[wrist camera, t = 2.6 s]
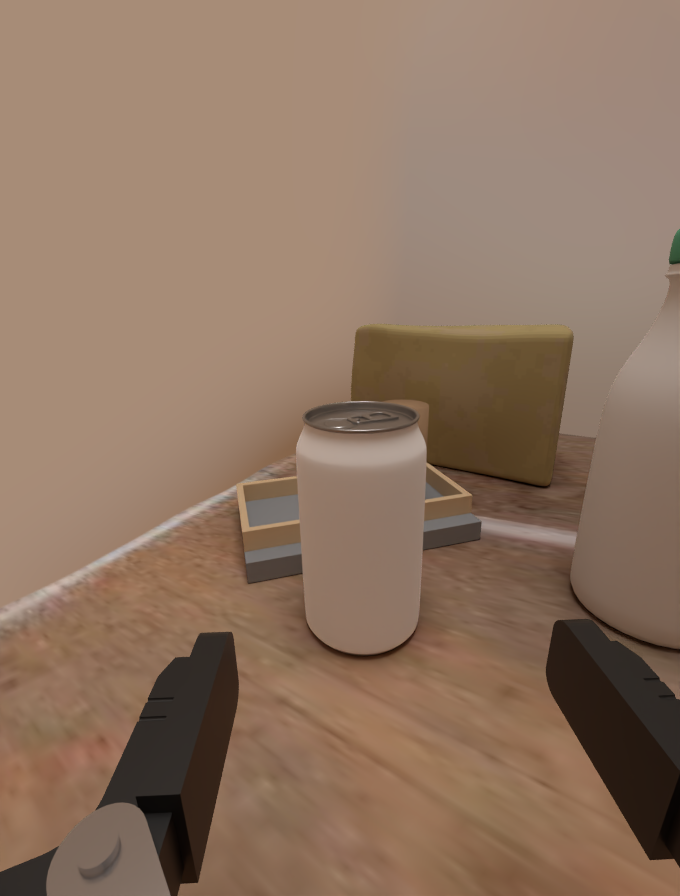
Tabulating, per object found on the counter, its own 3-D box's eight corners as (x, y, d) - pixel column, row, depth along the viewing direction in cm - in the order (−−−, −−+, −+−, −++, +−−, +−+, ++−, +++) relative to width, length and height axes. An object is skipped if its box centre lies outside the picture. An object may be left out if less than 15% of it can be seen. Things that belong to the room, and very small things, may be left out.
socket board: (415, 482, 41) (419, 388, 38) (479, 539, 31) (491, 417, 28) (239, 508, 37) (227, 404, 34) (248, 583, 27) (232, 445, 24)
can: (289, 601, 25) (274, 409, 21) (378, 569, 28) (380, 394, 24) (338, 681, 20) (330, 442, 16) (443, 631, 23) (458, 418, 19)
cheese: (336, 462, 47) (333, 326, 43) (366, 438, 56) (366, 322, 51) (551, 492, 39) (577, 325, 34) (548, 458, 47) (569, 320, 42)
